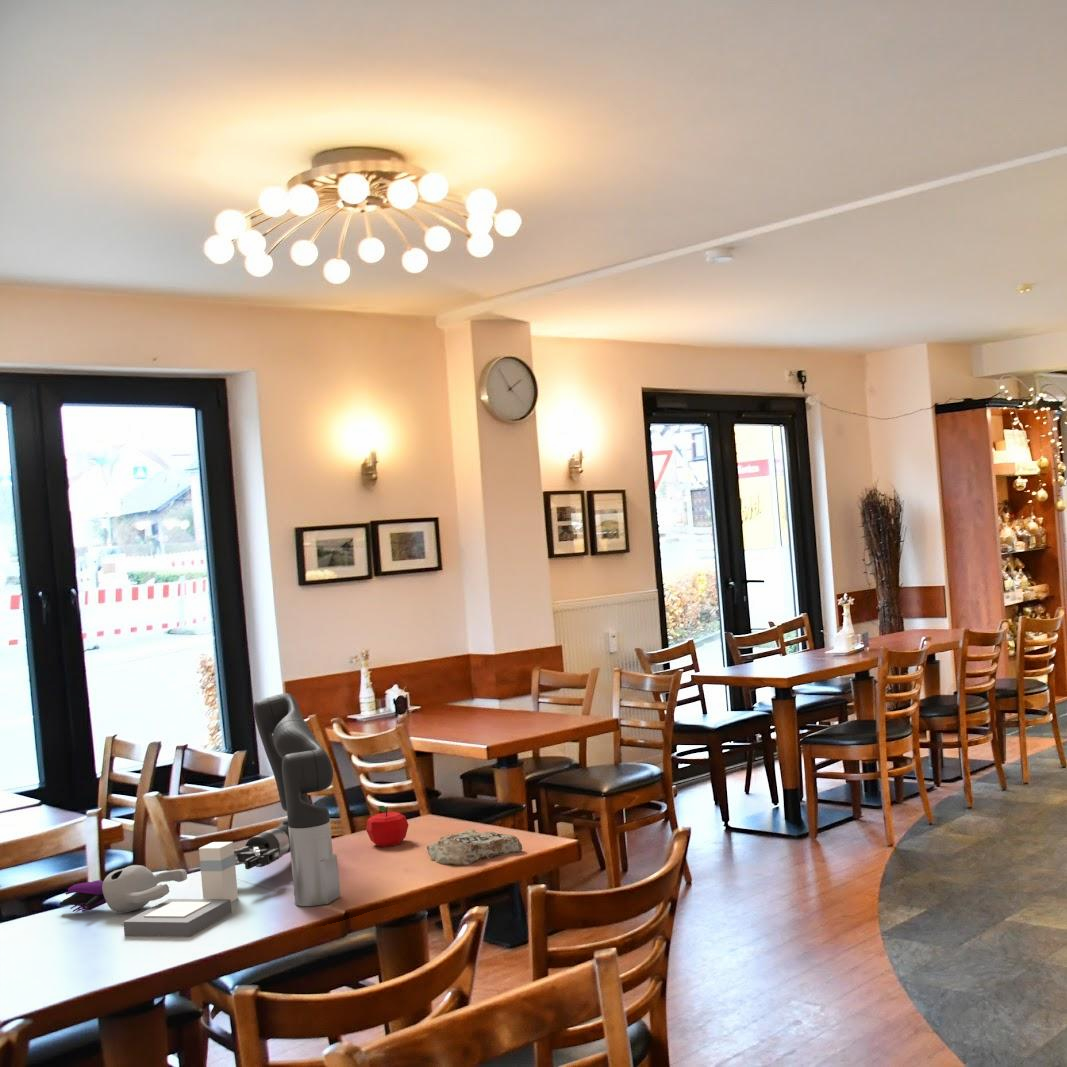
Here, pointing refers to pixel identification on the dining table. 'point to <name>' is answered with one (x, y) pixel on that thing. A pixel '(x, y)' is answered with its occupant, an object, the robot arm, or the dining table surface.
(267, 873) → the dining table surface
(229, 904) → the podium
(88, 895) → the figurine
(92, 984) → the dining table surface
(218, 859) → the carton
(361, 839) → the dining table surface
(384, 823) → the apple
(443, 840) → the stone
